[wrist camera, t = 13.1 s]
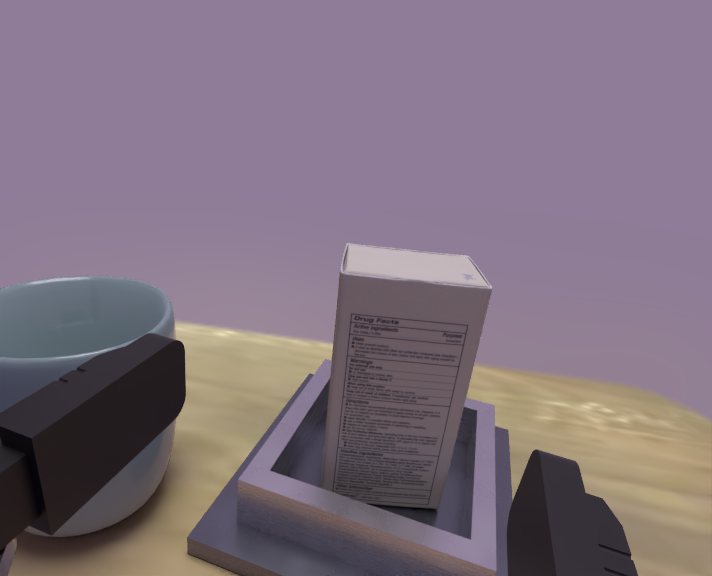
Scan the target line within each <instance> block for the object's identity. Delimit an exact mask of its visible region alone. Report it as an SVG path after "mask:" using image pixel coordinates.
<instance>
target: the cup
mask: <svg viewBox="0 0 712 576" xmlns="http://www.w3.org/2000/svg"><path fill="white" fill-rule="evenodd" d="M147 333H154V334H158V335H161V336H164V337H168V338H171V339H174V340H176V333H175V320H174V313H173V307H172V303H171V301H170V299H169V298H168V296H167V295H166V294H165V293H164V292H163V291H162V290H160V289H159V288H158V287H156V286H153V285H151V284H149V283H146V282H142V281H138V280H133V279H127V278H120V277H108V276H107V277H106V276H74V277H59V278H49V279H42V280H36V281H29V282H25V283H20V284H15V285H11V286H8V287H4V288H1V289H0V413H1V412H3V411H4V410H6V409H8V408H9V407H11V406H13V405H14V404H16V403H18V402H19V401H21V400H23V399H24V398H26V397H28V396H30V395H31V394H33V393H35V392H36V391H38V390H40V389H41V388H43V387H45V386H46V385H48V384H50V383H51V382H53V381H58V380H59V378H60V377H62V376H63V375H65V374H67V373H68V372H70V371H72V370H76V369H77V367H78V366H80V365H82V364H83V363H85V362H87V361H89V360H90V359H92V358H94V357H95V356H97V355H99V354H102V353H105V352H108V351H111V350H114V349H117V348H121V347H125V346H127V345H129V344H130V343H132V342H133V341H135V340H137V339H138V338H140V337H142V336H143V335H145V334H147ZM175 427H176V419H175V420H174V421H173V422H172V423H171V424H170V425H169V426H168V427H167V428H166V429H165V430H163V431H162V432H161V433H160V434H159V435H158V436H157V437H156V438H155V439H154V440H153V441H152V442H151V443H150V444H149V445H148V446H146V447H145V448H144V449H143V450H142V451H141V452H140V453H139V454H138V455H137V456H136V457H135V458H134V459H133V460H132V461H131V462H129V463H128V464H127V465H126V466H125V467H124V468H123V469H122V470H121V471H120V472H119V473H118V474H117V475H116V476H115V477H114V478H112V479H111V480H110V481H109V482H108V483H107V484H106V485H105V486H104V487H103V488H102V489H101V490H100V491H99V492H98V493H96V494H95V495H94V496H93V497H92V498H91V499H90V500H89V501H88V502H87V503H86V504H85V505H84V506H83V507H82V508H81V509H79V510H78V511H77V512H76V513H75V514H74V515H73V516H72V517H71V518H70V519H69V520H68V521H67V522H66V523H65V524H64V525H62V526H61V527H60V528H59V529H58V530H57V531H56V532H55V533H54V534H53V535H52V536H51V535H49V534H46V533H44V532H42V531H40V530H37V529H35V528H33V527H31V526H28V527H27V528H26V529H25V530H24V531H26V532H29V533H31V534H34V535H40V536H45V537H69V536H77V535H83V534H87V533H91V532H95V531H99V530H101V529H104V528H107V527H109V526H112V525H114V524H116V523H118V522H120V521H121V520H123V519H125V518H127V517H128V516H130V515H131V514H133V513H134V512H135V511H137V510H138V509H139V508H141V507H142V506H143V505H144V504H145V503H146V502H147V500H148V499H149V498H150V497H151V496H152V494H153V493H154V492H155V490H156V489H157V487H158V486H159V484H160V482H161V481H162V478H163V476H164V473H165V471H166V468H167V466H168V463H169V461H170V456H171V452H172V447H173V441H174V434H175Z"/></svg>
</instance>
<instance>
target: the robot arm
mask: <svg viewBox="0 0 712 576" xmlns="http://www.w3.org/2000/svg"><path fill="white" fill-rule="evenodd" d="M185 396H186V384H185V349H184V345H183V344H182V342H180V341H178V340H174V339H171V338H168V337H164V336H161V335H158V334H154V333H147V334H145V335H143V336H142V337H140V338H138V339H137V340H135V341H133V342H132V343H130V344H129V345H127V346H125V347H121V348H117V349H114V350H111V351H108V352H105V353H102V354H99V355H97V356H95V357H94V358H92V359H90V360H89V361H87V362H85V363H83V364H82V365H80V366H78V367H77V369H76V370H72V371H70V372H68V373H67V374H65V375H63V376H62V377H60V378H59V380H58V381H53V382H51V383H50V384H48V385H46V386H45V387H43V388H41V389H40V390H38V391H36V392H35V393H33V394H31V395H30V396H28V397H26V398H24V399H23V400H21V401H19V402H18V403H16V404H14V405H13V406H11V407H9V408H8V409H6V410H4V411H3V412H1V413H0V576H8V573H9V570H10V567H11V564H12V561H13V558H14V555H15V552H16V548H17V540H16V537H17V536H18V535H19V534H20V533H21V532H22V531H23V530H25V529H26V528H27V527H28V526H31V527H33V528H35V529H37V530H40V531H42V532H44V533H46V534H49V535H51V536H52V535H53V534H54V533H55V532H56V531H57V530H58V529H59V528H60V527H61V526H62V525H64V524H65V523H66V522H67V521H68V520H69V519H70V518H71V517H72V516H73V515H74V514H75V513H76V512H77V511H78V510H79V509H81V508H82V507H83V506H84V505H85V504H86V503H87V502H88V501H89V500H90V499H91V498H92V497H93V496H94V495H95V494H96V493H98V492H99V491H100V490H101V489H102V488H103V487H104V486H105V485H106V484H107V483H108V482H109V481H110V480H111V479H112V478H114V477H115V476H116V475H117V474H118V473H119V472H120V471H121V470H122V469H123V468H124V467H125V466H126V465H127V464H128V463H129V462H131V461H132V460H133V459H134V458H135V457H136V456H137V455H138V454H139V453H140V452H141V451H142V450H143V449H144V448H145V447H146V446H148V445H149V444H150V443H151V442H152V441H153V440H154V439H155V438H156V437H157V436H158V435H159V434H160V433H161V432H162V431H163V430H165V429H166V428H167V427H168V426H169V425H170V424H171V423H172V422H173V421H174V420H175V419H176V418H177V416H178V415H179V413H180V411H181V409H182V407H183V405H184V401H185ZM507 564H508V576H638V574H637V571H636V568H635V565H634V561H633V560H631V552H630V549H629V546H628V543H627V539H626V536H625V533H624V530H623V527H622V525H621V524H620V522H619V521H618V519H617V518H616V517H615V515H614V514H613V512H612V511H611V510H610V508H609V507H608V505H607V504H606V503H605V501H604V500H603V498H599V497H596V496H593V495H590V494H587V493H585V489H584V485H583V481H582V477H581V473H580V469H579V466H578V464H577V462H576V461H573V460H570V459H566V458H563V457H560V456H556V455H553V454H550V453H546V452H543V451H540V450H534V451H533V452H532V454H531V456H530V458H529V461H528V464H527V466H526V469H525V471H524V474H523V476H522V479H521V481H520V484H519V487H518V489H517V492H516V494H515V497H514V499H513V502H512V505H511V508H510V512H509V517H508V524H507Z"/></svg>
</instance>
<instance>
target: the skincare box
mask: <svg viewBox="0 0 712 576" xmlns="http://www.w3.org/2000/svg"><path fill="white" fill-rule="evenodd" d="M338 290H339V291H338V300H337V311H336V322H335V333H334V343H333V354H332V365H331V375H330V385H329V395H328V406H327V417H326V427H325V436H324V446H323V458H322V469H321V480H320V488H322V489H325V490H328V491H331V492H333V493H336V494H339V495H342V496H345V497H348V498H351V499H354V500H357V501H360V502H362V503H368V504H380V505H391V506H403V507H417V508H433V509H438V508H439V507H440V504H441V500H442V495H443V491H444V487H445V483H446V479H447V474H448V470H449V466H450V462H451V458H452V454H453V450H454V445H455V441H456V437H457V433H458V429H459V424H460V421H461V417H462V412H463V408H464V404H465V400H466V396H467V392H468V387H469V383H470V379H471V374H472V370H473V366H474V362H475V358H476V353H477V349H478V346H479V341H480V337H481V333H482V329H483V324H484V320H485V315H486V312H487V308H488V304H489V300H490V296H491V292H492V287H491V285H490V284H489V283H488V281H487V279H486V278H485V277H484V275H483V274H482V273H481V271H480V270H479V268H478V267H477V266H476V264H475V263H474V262H473V261H472V260H471V258H470V257H468V256H464V255H452V254H445V253H435V252H425V251H415V250H404V249H397V248H387V247H378V246H368V245H359V244H350V243H347V244H346V247H345V251H344V254H343V258H342V262H341V268H340V277H339V289H338Z"/></svg>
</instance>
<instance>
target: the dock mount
mask: <svg viewBox="0 0 712 576" xmlns="http://www.w3.org/2000/svg"><path fill="white" fill-rule="evenodd" d="M331 365H332V361H330V360H327V359H325V360H324V362H323V363H322V365H321V366H320V367H319V369H318V370H317V371H316V373H315V374H314V375H313V374H309V375H308V376H307V378H306V379H305V380H304V382H303V383H302V384H301V386H300V387H299V388H298V390H297V391H296V392H295V394H294V395H293V397H292V398H291V399H290V401H289V402H288V403H287V405H286V406H285V407H284V409H283V410H282V411H281V413H280V414H279V415H278V417H277V418H276V419H275V421H274V422H273V423H272V425H271V426H270V427H269V429H268V430H267V431H266V433H265V434H264V435H263V437H262V438H261V439H260V441H259V442H258V443H257V445H256V446H255V447H254V449H253V450H252V451H251V453H250V454H249V455H248V457H247V458H246V459H245V461H244V462H243V464H242V465H241V466H240V468H239V469H238V470H237V472H236V473H235V474H234V476H233V477H232V478H231V480H230V481H229V482H228V484H227V485H226V486H225V488H224V489H223V490H222V492H221V493H220V494H219V496H218V497H217V498H216V500H215V501H214V502H213V504H212V505H211V506H210V508H209V509H208V510H207V512H206V513H205V514H204V516H203V517H202V518H201V520H200V521H199V522H198V524H197V525H196V526H195V528H194V529H193V530H192V532H191V533H190V535H189V536H188V537H187V543H188V554H191V555H193V556H196V557H198V558H200V559H203V560H205V561H208V562H210V563H213V564H215V565H218V566H220V567H222V568H225V569H227V570H230V571H232V572H235V573H237V574H240V575H242V576H508V564H507V524H508V517H509V512H510V508H511V505H512V487H511V470H510V452H509V435H508V430H506V429H503V428H499V427H496V426H495V407H494V405H491V404H487V403H483V402H480V401H476V400H472V399H469V398H466V400H465V404H464V408H463V412H462V417H461V421H460V424H459V429H458V433H457V437H456V441H455V445H454V450H453V454H452V458H451V462H450V466H449V470H448V474H447V479H446V483H445V487H444V491H443V495H442V500H441V504H440V507H439V508H438V509H433V508H417V507H403V506H391V505H380V504H368V503H362V502H360V501H357V500H354V499H351V498H348V497H345V496H342V495H339V494H336V493H333V492H331V491H328V490H325V489H322V488H320V480H321V469H322V458H323V446H324V436H325V427H326V417H327V406H328V395H329V385H330V375H331Z"/></svg>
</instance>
